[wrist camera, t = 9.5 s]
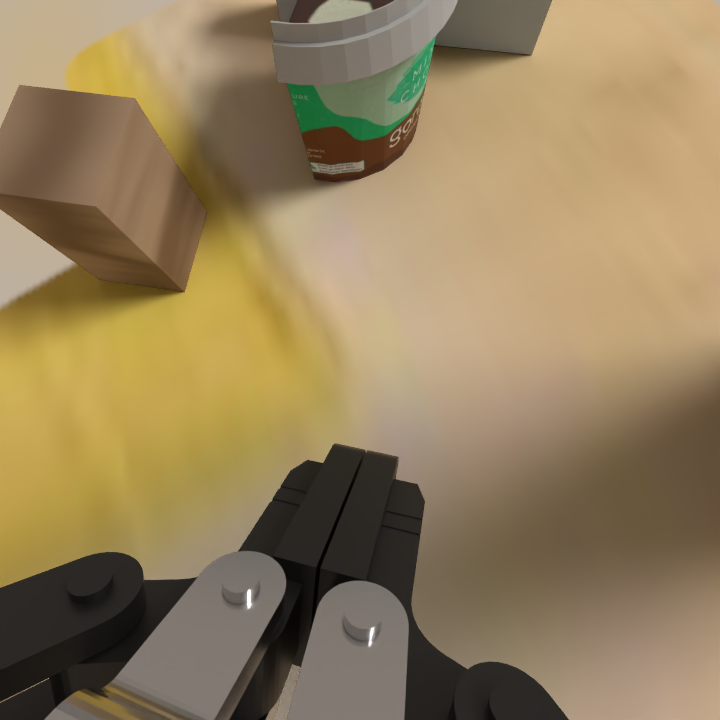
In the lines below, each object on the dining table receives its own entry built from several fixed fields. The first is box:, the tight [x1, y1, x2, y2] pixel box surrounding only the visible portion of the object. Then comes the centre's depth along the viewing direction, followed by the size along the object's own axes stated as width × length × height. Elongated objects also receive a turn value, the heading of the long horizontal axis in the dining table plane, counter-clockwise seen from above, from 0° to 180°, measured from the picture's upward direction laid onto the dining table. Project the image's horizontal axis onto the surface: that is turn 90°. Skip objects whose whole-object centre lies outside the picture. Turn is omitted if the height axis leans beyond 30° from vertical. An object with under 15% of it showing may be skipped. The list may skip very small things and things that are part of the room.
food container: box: [271, 0, 458, 182], centre depth 22 cm, size 12×6×10 cm, turn 165°
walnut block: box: [0, 85, 207, 292], centre depth 21 cm, size 5×5×8 cm
